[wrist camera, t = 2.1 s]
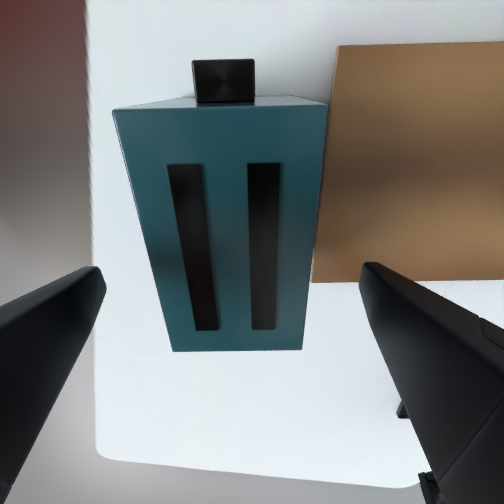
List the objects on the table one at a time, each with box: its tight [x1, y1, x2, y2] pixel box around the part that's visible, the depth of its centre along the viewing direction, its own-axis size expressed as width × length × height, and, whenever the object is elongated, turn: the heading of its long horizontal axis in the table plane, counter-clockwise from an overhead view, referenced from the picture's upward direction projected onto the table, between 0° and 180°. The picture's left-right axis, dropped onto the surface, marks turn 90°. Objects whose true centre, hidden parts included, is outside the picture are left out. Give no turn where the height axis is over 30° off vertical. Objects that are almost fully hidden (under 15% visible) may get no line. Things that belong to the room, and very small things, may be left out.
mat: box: [311, 42, 504, 283], centre depth 17 cm, size 14×22×1 cm, turn 91°
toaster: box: [112, 59, 329, 352], centre depth 13 cm, size 11×6×8 cm, turn 1°
